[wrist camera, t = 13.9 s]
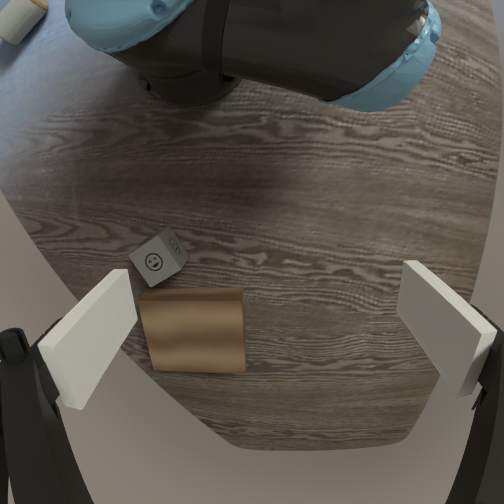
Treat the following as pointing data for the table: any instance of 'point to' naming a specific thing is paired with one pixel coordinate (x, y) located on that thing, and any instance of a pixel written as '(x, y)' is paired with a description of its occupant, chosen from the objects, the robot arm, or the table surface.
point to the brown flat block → (195, 329)
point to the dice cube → (159, 256)
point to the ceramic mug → (20, 18)
